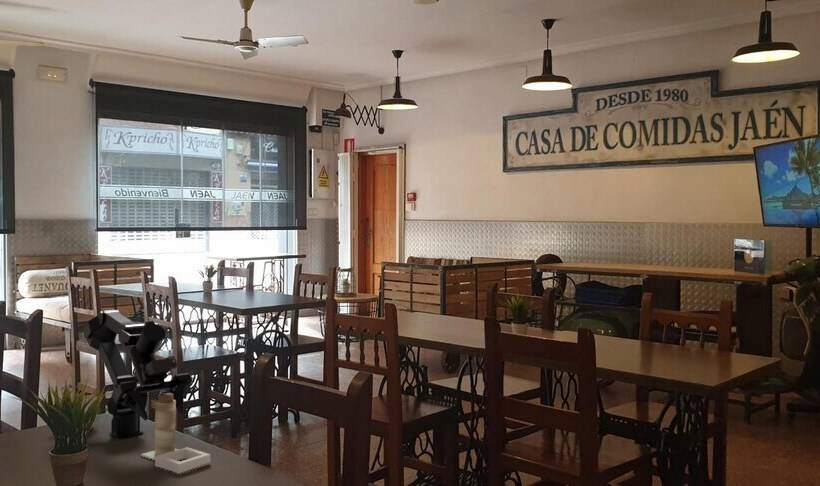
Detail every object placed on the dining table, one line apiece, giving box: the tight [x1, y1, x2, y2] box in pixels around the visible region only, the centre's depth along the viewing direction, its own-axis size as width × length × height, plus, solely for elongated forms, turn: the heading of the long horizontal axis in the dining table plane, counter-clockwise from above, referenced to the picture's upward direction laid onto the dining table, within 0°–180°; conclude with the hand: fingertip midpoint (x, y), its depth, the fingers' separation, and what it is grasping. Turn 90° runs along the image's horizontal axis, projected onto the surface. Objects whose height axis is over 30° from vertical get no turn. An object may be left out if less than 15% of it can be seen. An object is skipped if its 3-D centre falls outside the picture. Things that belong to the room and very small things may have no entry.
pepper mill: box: [154, 392, 177, 456], centre depth 181 cm, size 5×5×15 cm
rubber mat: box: [140, 448, 178, 461], centre depth 181 cm, size 8×8×1 cm
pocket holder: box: [154, 446, 211, 473], centre depth 174 cm, size 9×9×2 cm
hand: (164, 416), depth 181 cm, fingers open, 9 cm apart
